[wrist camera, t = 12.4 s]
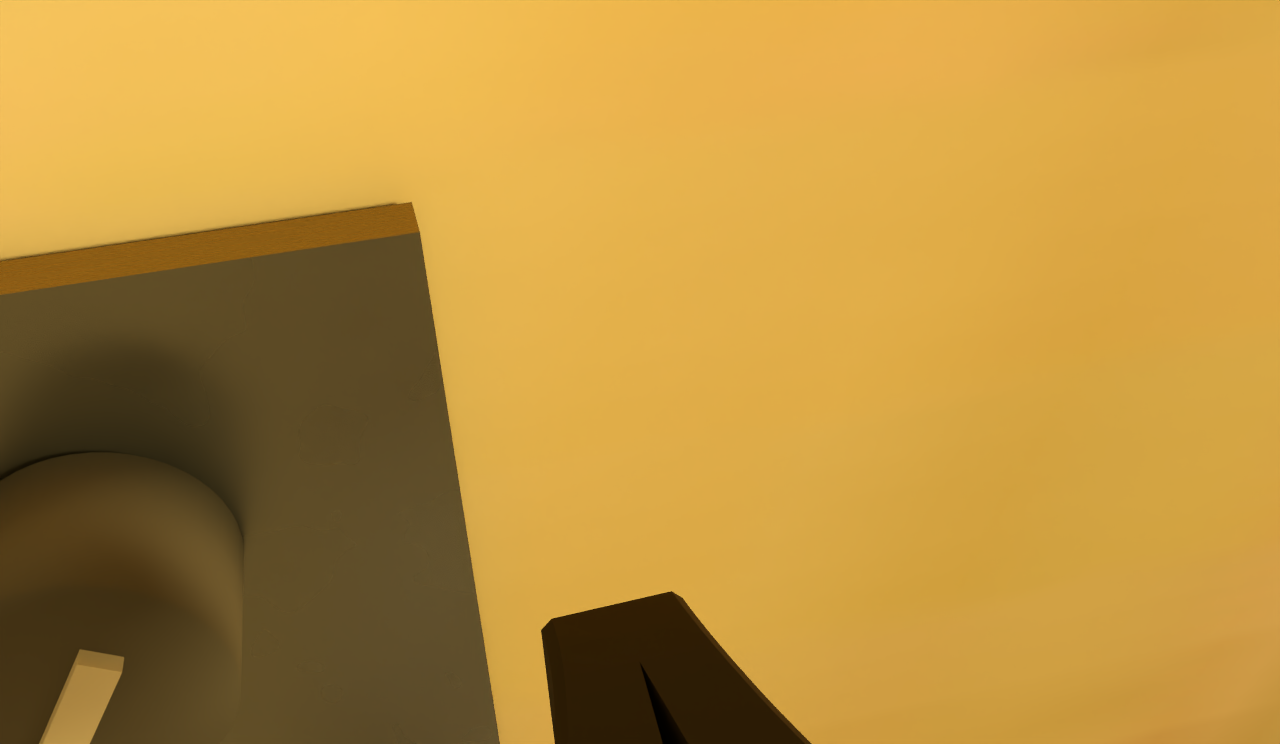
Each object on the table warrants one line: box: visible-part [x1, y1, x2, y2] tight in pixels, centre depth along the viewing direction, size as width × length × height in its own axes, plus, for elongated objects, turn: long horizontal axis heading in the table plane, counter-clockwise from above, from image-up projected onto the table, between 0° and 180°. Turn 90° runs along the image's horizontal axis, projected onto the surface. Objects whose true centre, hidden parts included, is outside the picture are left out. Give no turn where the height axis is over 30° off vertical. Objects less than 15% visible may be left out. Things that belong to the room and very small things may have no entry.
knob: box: [0, 452, 244, 744], centre depth 18 cm, size 9×4×4 cm, turn 150°
